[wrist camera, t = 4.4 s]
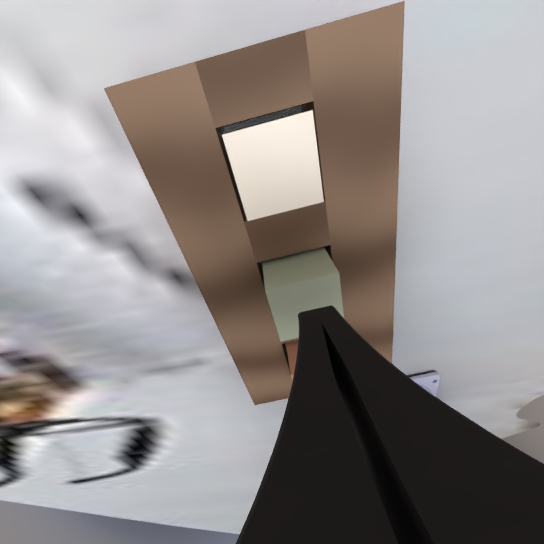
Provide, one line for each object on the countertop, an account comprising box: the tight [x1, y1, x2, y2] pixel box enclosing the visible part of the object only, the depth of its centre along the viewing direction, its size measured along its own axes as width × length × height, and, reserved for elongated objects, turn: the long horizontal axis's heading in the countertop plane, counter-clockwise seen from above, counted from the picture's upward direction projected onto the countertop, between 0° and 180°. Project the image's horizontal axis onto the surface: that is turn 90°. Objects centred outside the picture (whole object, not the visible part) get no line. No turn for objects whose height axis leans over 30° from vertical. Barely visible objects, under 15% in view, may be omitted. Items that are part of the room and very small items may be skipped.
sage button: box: [262, 247, 344, 342], centre depth 15 cm, size 4×4×3 cm
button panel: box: [104, 1, 404, 405], centre depth 17 cm, size 23×12×2 cm, turn 13°
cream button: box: [222, 110, 324, 221], centre depth 12 cm, size 4×4×3 cm
